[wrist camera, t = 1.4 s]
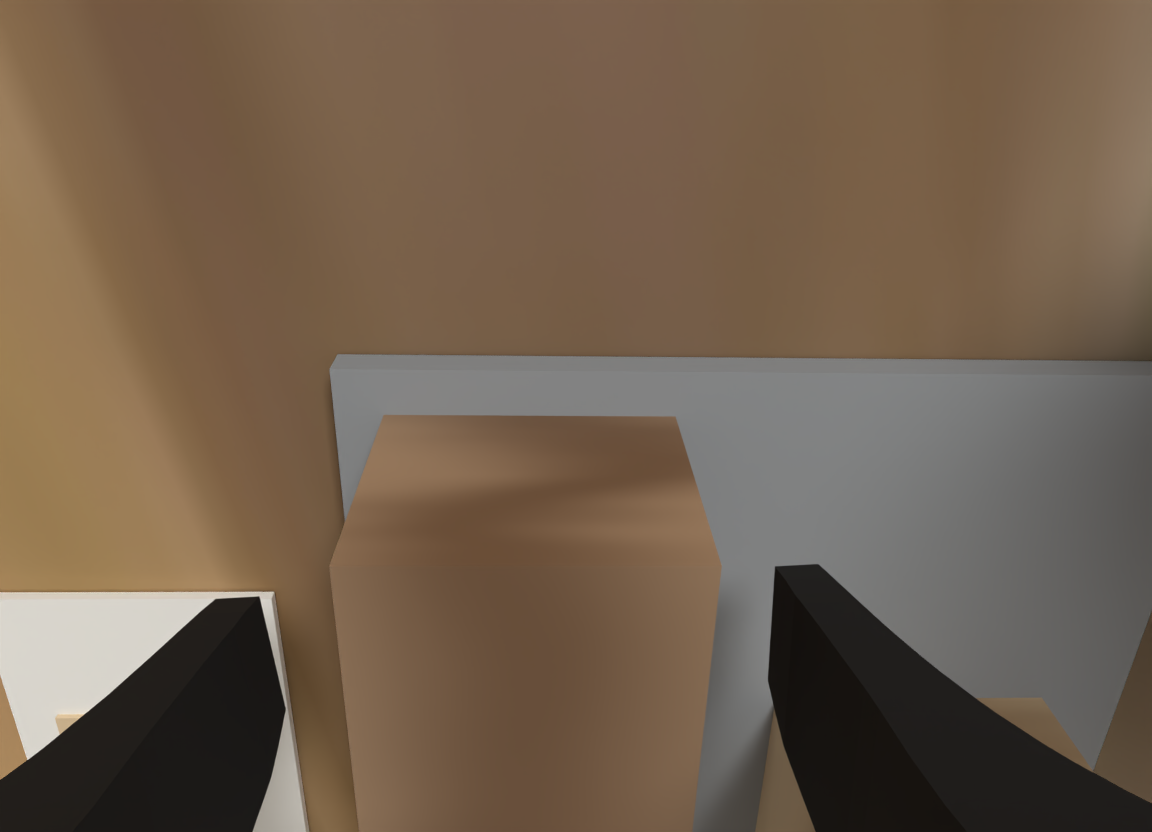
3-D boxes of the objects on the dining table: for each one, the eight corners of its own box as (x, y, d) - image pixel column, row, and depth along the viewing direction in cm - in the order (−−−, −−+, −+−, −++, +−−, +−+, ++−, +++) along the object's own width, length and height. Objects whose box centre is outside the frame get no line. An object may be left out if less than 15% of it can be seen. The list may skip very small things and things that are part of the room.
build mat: (1212, 361, 15) (1236, 376, 14) (1033, 871, 20) (1047, 895, 19) (337, 354, 14) (329, 369, 14) (388, 881, 19) (383, 906, 19)
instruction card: (274, 591, 16) (270, 602, 16) (314, 866, 19) (311, 878, 19) (-18, 592, 16) (-28, 602, 16) (70, 869, 19) (63, 882, 19)
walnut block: (675, 416, 14) (721, 565, 11) (657, 645, 16) (691, 838, 12) (383, 414, 14) (328, 566, 10) (400, 647, 16) (360, 842, 12)
